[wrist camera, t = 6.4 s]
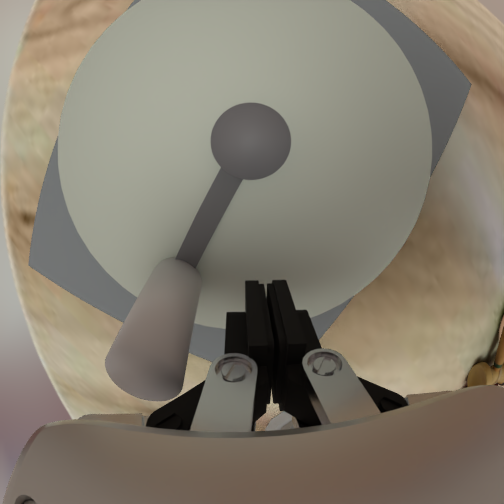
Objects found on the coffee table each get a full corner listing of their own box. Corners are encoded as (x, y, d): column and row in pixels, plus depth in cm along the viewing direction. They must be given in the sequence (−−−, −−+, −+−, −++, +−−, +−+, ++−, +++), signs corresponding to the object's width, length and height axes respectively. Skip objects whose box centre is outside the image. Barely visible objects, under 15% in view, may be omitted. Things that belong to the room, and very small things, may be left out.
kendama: (485, 302, 22) (446, 412, 26) (525, 321, 16) (472, 435, 20) (508, 286, 23) (474, 389, 28) (542, 300, 17) (498, 408, 22)
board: (214, -64, 8) (213, -78, 6) (458, 85, 12) (474, 83, 11) (39, 256, 15) (26, 267, 14) (276, 370, 20) (279, 387, 18)
